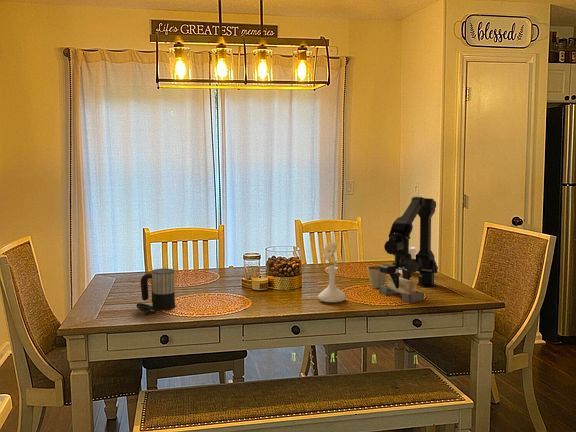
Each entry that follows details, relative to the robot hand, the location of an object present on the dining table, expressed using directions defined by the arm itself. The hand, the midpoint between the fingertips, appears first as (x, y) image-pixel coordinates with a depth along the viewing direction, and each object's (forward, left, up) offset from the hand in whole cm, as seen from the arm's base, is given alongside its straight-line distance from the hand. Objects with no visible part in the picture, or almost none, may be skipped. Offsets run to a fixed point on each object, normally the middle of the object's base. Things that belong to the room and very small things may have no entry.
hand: (401, 287), depth 235 cm
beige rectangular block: (0, 0, -2) cm, 2 cm away
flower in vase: (+29, -8, -4) cm, 30 cm away
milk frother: (+94, -32, -4) cm, 100 cm away
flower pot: (-3, -20, -4) cm, 21 cm away
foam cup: (-33, -36, -4) cm, 49 cm away
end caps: (0, 0, -4) cm, 4 cm away
